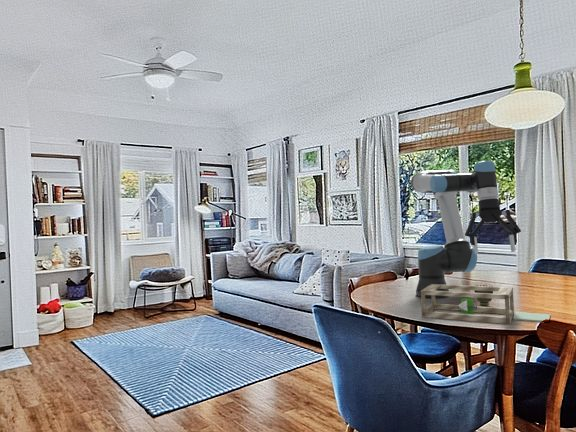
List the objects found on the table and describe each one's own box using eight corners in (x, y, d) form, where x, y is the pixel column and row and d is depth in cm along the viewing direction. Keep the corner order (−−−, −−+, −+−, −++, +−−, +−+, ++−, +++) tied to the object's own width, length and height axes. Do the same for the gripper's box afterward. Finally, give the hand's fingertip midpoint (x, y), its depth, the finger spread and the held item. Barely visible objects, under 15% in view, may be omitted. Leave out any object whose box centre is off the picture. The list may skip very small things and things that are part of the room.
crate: (422, 316, 165) (420, 290, 165) (432, 308, 179) (431, 284, 179) (509, 324, 149) (508, 295, 149) (514, 314, 163) (512, 287, 163)
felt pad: (513, 319, 154) (513, 318, 154) (516, 313, 164) (516, 311, 164) (549, 322, 149) (549, 321, 149) (550, 315, 158) (549, 314, 158)
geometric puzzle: (457, 306, 170) (456, 292, 166) (476, 307, 168) (476, 292, 163) (458, 321, 165) (457, 307, 160) (478, 321, 162) (477, 307, 158)
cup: (493, 308, 174) (492, 288, 174) (473, 306, 178) (472, 287, 178) (495, 304, 181) (494, 285, 181) (476, 303, 184) (475, 284, 184)
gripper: (457, 200, 172) (463, 253, 168) (525, 195, 167) (532, 250, 164) (453, 203, 179) (459, 255, 176) (518, 198, 175) (525, 251, 171)
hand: (494, 252), depth 170 cm, fingers open, 13 cm apart
